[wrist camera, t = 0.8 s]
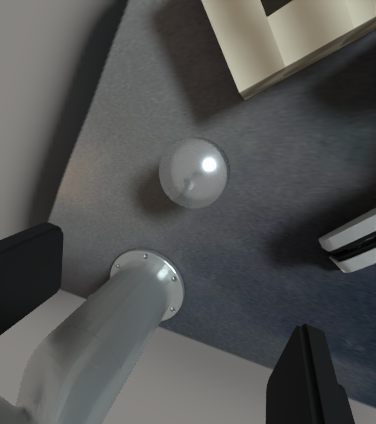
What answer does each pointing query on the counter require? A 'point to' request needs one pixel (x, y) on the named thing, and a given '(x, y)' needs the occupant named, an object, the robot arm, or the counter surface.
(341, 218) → the counter surface
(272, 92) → the counter surface
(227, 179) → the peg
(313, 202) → the counter surface
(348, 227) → the white curved block
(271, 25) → the block
